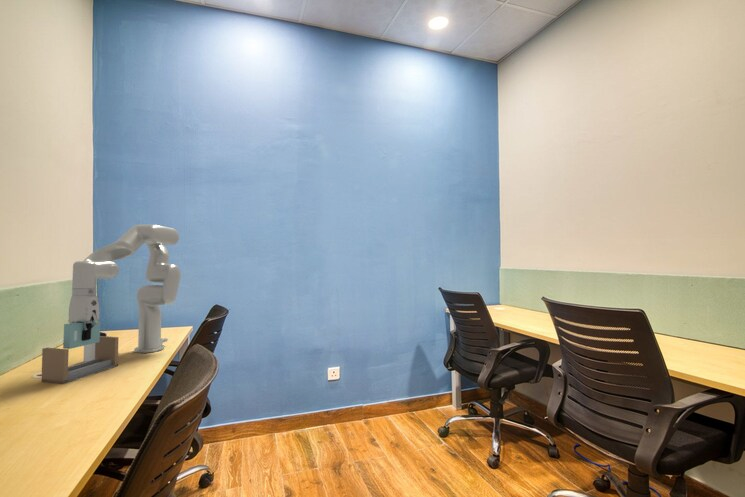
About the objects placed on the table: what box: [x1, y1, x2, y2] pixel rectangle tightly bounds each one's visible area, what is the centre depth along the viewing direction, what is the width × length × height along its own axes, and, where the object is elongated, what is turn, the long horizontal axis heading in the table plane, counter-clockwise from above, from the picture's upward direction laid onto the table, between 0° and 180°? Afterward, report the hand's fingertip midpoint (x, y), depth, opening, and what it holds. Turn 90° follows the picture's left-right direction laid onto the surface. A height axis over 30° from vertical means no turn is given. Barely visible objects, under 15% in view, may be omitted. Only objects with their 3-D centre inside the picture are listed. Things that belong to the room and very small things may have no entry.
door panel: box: [62, 319, 101, 350], centre depth 143 cm, size 12×3×9 cm, turn 168°
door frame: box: [41, 336, 119, 385], centre depth 143 cm, size 22×10×12 cm, turn 168°
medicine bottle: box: [83, 331, 107, 363], centre depth 161 cm, size 7×7×12 cm
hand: (82, 339), depth 143 cm, fingers closed on door panel, 3 cm apart
